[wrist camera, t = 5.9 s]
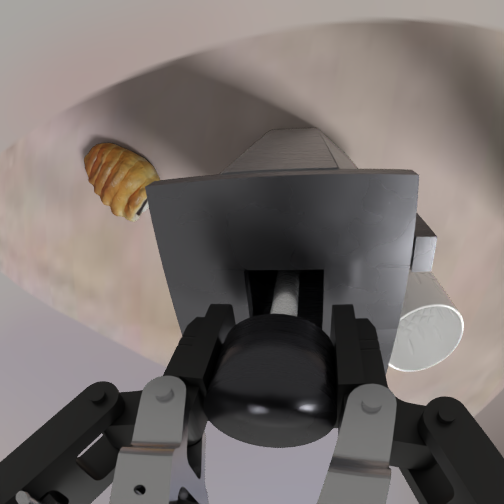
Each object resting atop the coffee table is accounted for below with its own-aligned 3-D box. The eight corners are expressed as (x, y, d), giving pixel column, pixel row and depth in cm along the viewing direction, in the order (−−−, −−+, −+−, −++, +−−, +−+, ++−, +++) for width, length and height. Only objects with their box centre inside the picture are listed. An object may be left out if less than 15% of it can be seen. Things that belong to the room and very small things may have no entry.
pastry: (84, 173, 32) (64, 182, 28) (109, 125, 29) (88, 129, 25) (141, 221, 34) (125, 235, 30) (172, 176, 31) (156, 185, 27)
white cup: (364, 311, 34) (376, 376, 25) (365, 250, 31) (385, 309, 22) (426, 304, 32) (452, 365, 24) (434, 244, 29) (472, 298, 20)
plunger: (353, 154, 18) (460, 293, 5) (351, 265, 22) (383, 469, 8) (229, 159, 20) (83, 292, 6) (242, 266, 23) (173, 457, 10)
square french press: (376, 127, 25) (484, 177, 8) (374, 229, 29) (433, 376, 13) (238, 132, 27) (138, 186, 11) (249, 232, 32) (191, 377, 15)
